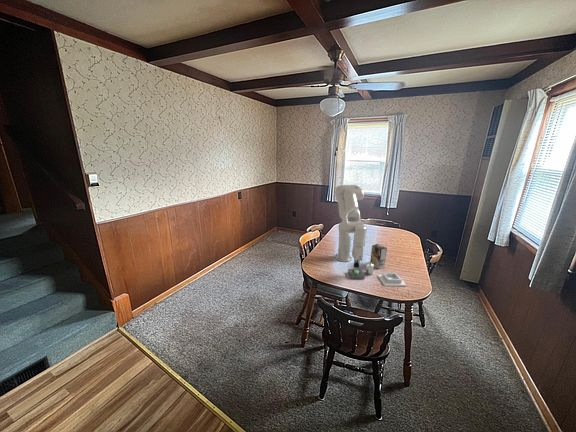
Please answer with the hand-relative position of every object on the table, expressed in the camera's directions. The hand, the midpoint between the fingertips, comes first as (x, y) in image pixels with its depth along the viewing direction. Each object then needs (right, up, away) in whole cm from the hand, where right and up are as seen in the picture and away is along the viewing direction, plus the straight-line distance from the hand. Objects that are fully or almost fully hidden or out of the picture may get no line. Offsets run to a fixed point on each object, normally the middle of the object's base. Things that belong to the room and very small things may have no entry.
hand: (356, 267), depth 158 cm
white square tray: (+22, -8, -6) cm, 24 cm away
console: (0, -6, +1) cm, 6 cm away
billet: (+10, -6, +3) cm, 12 cm away
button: (0, -6, +1) cm, 6 cm away
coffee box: (+20, -3, +15) cm, 25 cm away
